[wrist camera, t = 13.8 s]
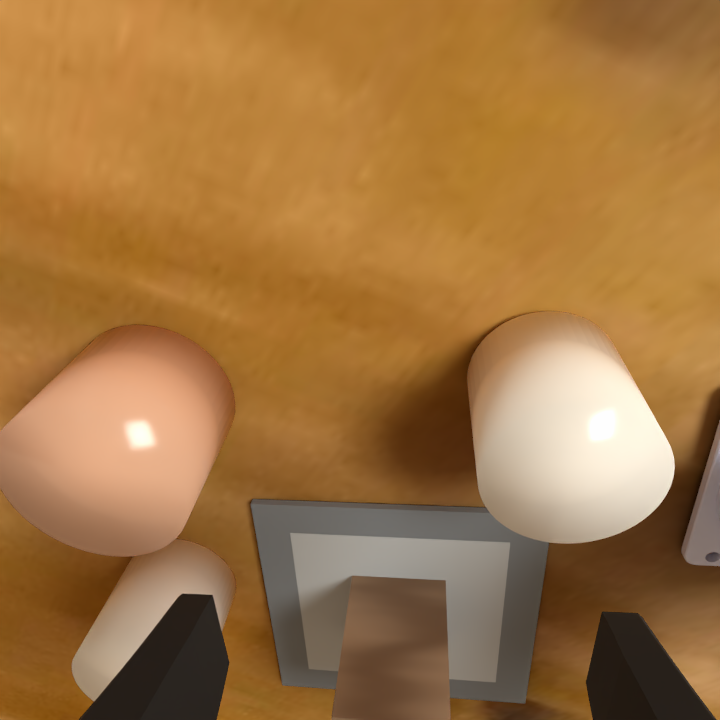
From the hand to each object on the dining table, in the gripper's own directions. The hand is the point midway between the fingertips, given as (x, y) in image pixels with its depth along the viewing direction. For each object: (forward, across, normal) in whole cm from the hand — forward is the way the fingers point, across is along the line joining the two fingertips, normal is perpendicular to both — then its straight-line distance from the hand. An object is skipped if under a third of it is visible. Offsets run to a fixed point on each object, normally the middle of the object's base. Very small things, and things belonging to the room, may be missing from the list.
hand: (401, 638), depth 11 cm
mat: (+10, 0, +12) cm, 16 cm away
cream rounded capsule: (+11, +10, +11) cm, 19 cm away
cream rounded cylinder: (+10, -4, 0) cm, 11 cm away
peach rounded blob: (+10, +10, +1) cm, 14 cm away
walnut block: (+10, 0, +12) cm, 16 cm away
